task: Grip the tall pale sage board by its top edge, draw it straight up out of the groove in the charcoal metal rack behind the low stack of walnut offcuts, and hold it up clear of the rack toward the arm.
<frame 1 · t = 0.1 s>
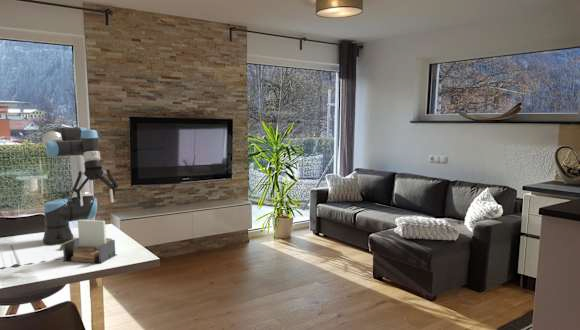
hand: (97, 204, 204), 28 cm above the table, tool tilted 20°, fingers open, 13 cm apart
sheet: (93, 256, 208), point 1 cm above the table, touching rack
rack: (90, 260, 206), on the table
offcut bottom: (86, 260, 203), point 1 cm above the table, touching offcut middle, rack
offcut top: (84, 251, 202), point 5 cm above the table, touching offcut middle
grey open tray: (85, 247, 229), on the table
offcut middle: (87, 256, 202), point 3 cm above the table, touching offcut bottom, offcut top
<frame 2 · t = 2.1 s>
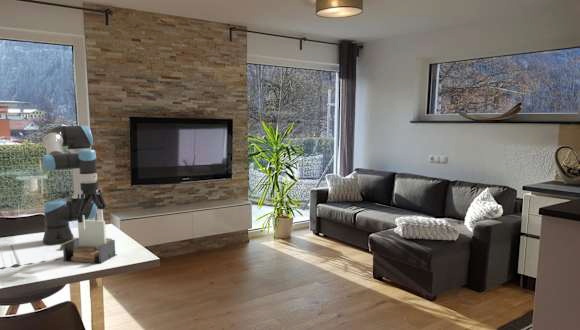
hand: (91, 225, 206), 17 cm above the table, tool pointing down, fingers open, 13 cm apart
nothing on the table moved.
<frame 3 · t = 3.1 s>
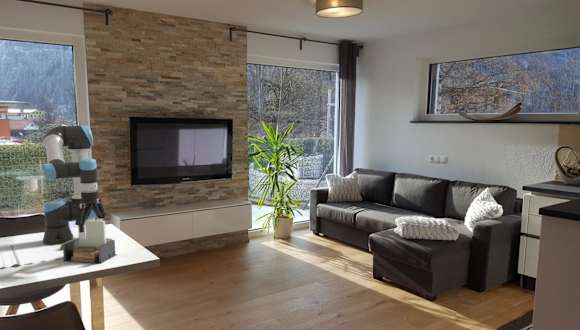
hand: (92, 234, 207), 12 cm above the table, tool pointing down, fingers open, 12 cm apart
nothing on the table moved.
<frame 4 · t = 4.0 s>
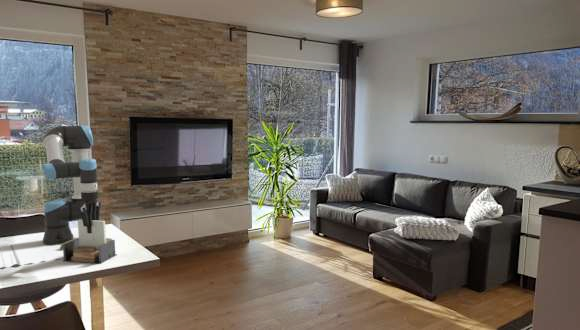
hand: (92, 238, 207), 10 cm above the table, tool pointing down, fingers closed on sheet
sheet: (93, 256, 208), point 1 cm above the table, touching gripper, rack
everything else where it was.
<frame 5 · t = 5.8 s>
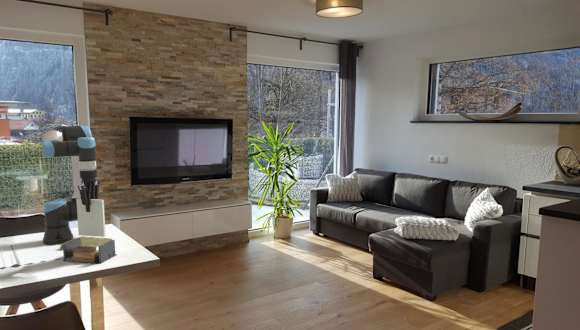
hand: (91, 217, 206), 21 cm above the table, tool pointing down, fingers closed on sheet
sheet: (92, 235, 207), point 12 cm above the table, touching gripper
everything else where it was.
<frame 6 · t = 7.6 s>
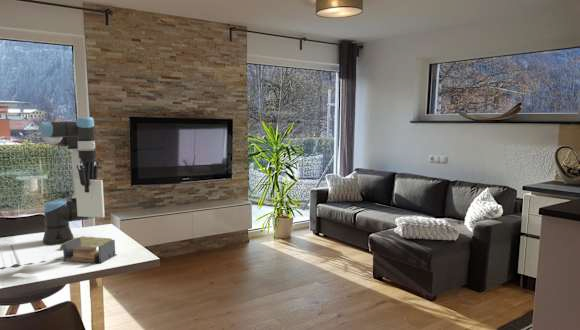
hand: (89, 198, 205), 30 cm above the table, tool pointing down, fingers closed on sheet
sheet: (91, 216, 206), point 21 cm above the table, touching gripper
everything else where it was.
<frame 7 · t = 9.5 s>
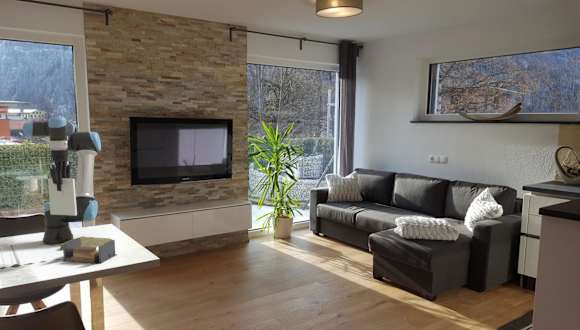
hand: (62, 197, 209), 30 cm above the table, tool pointing down, fingers closed on sheet
sheet: (63, 214, 210), point 21 cm above the table, touching gripper
everything else where it was.
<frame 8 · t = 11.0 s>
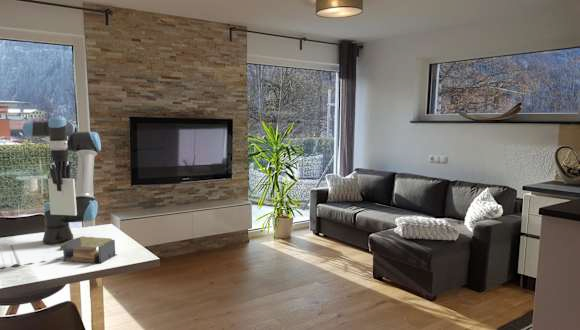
hand: (62, 197, 209), 30 cm above the table, tool pointing down, fingers closed on sheet
sheet: (63, 214, 210), point 21 cm above the table, touching gripper
everything else where it was.
at the end: the gripper is holding sheet; sheet inside the target area (0.0 cm from its centre), point 21.5 cm above the table; offcut top moved 0.0 cm from its start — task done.
